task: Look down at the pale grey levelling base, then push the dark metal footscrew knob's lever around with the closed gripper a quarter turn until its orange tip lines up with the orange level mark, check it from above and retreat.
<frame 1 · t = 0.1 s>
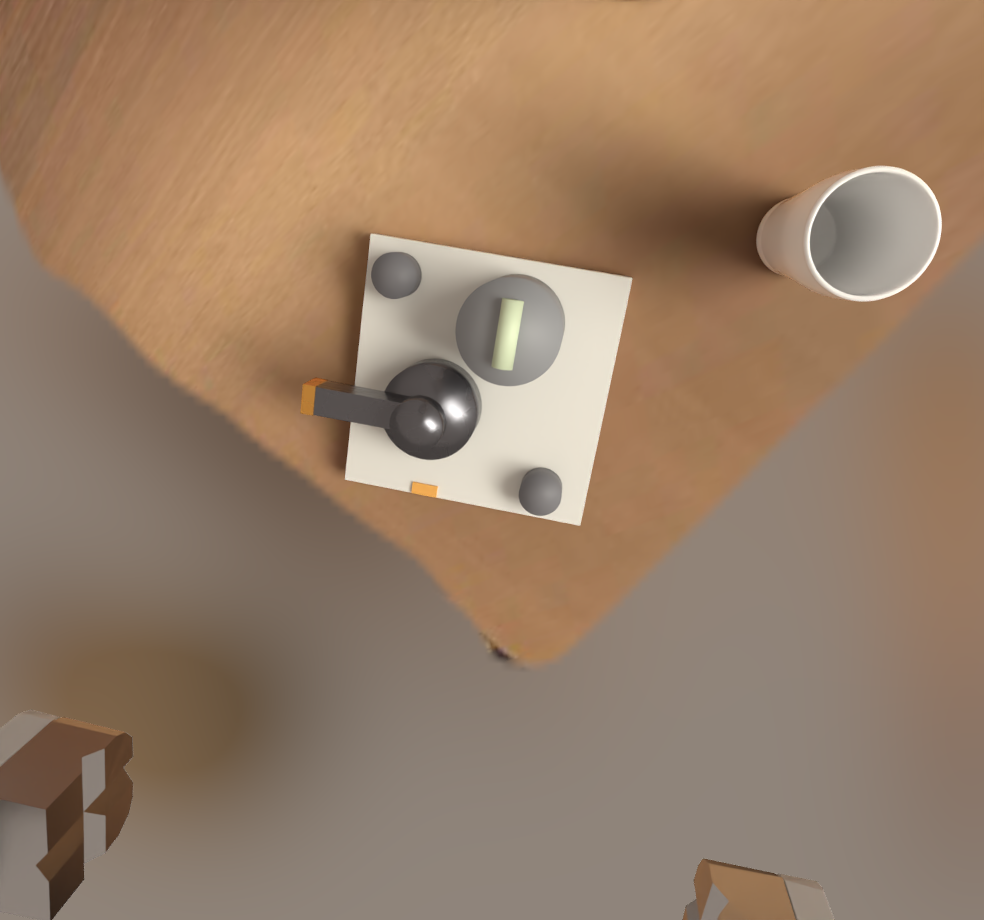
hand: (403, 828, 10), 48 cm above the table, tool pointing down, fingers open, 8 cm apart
drinking glass: (792, 237, 52), on the table
footscrew knob: (392, 408, 53), point 6 cm above the table, hinge at 0.0°
levelling base: (483, 380, 57), on the table
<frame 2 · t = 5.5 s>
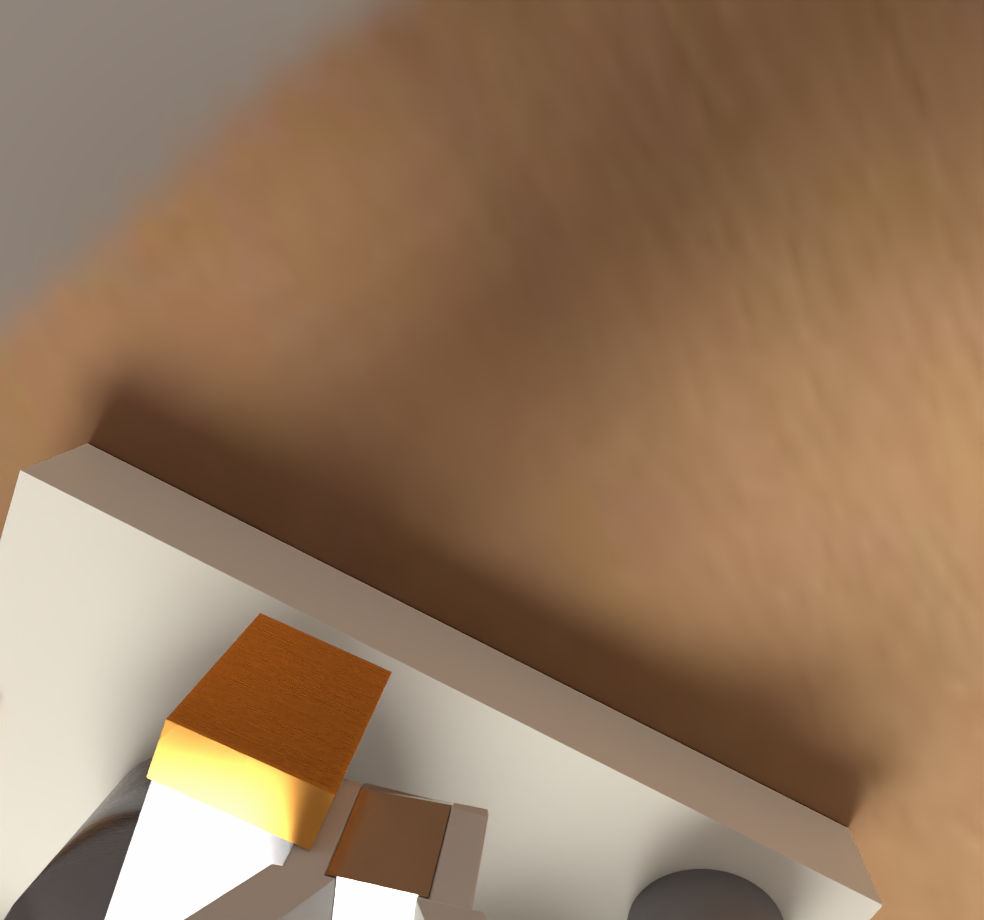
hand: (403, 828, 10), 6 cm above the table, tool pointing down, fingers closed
levelling base: (316, 916, 19), on the table
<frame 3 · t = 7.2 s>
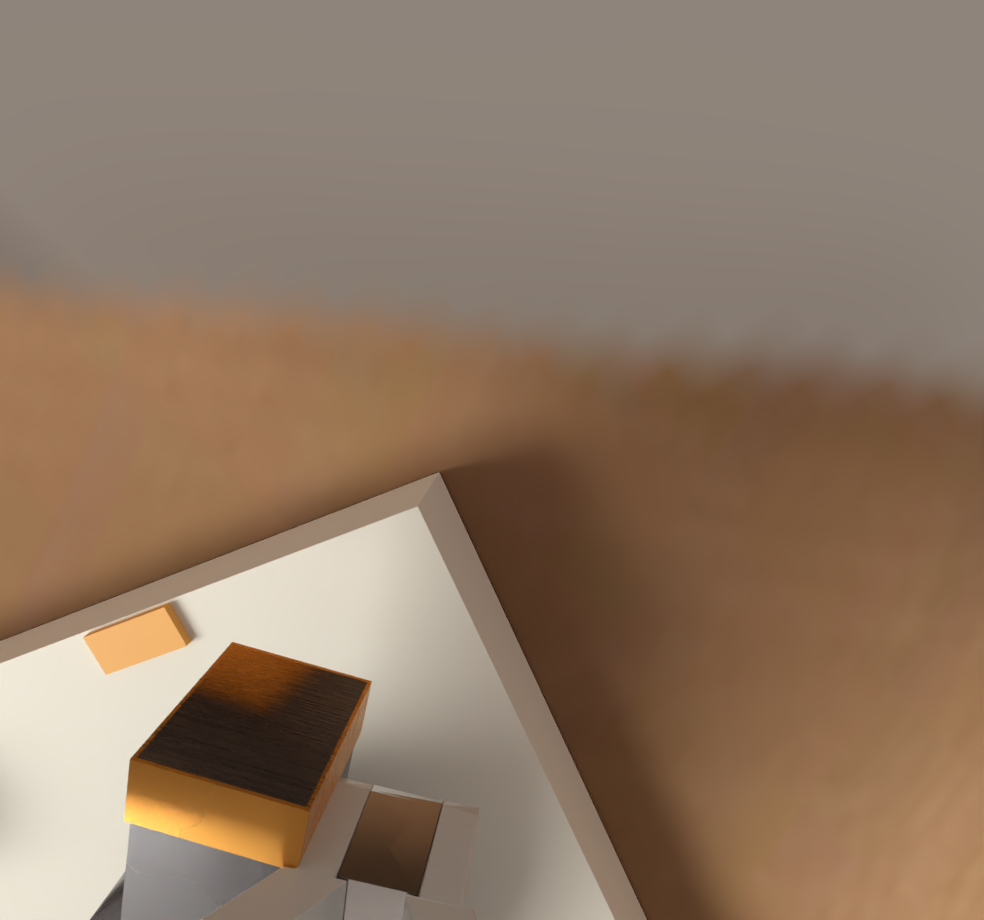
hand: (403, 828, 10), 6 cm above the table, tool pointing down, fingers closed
levelling base: (264, 918, 19), on the table
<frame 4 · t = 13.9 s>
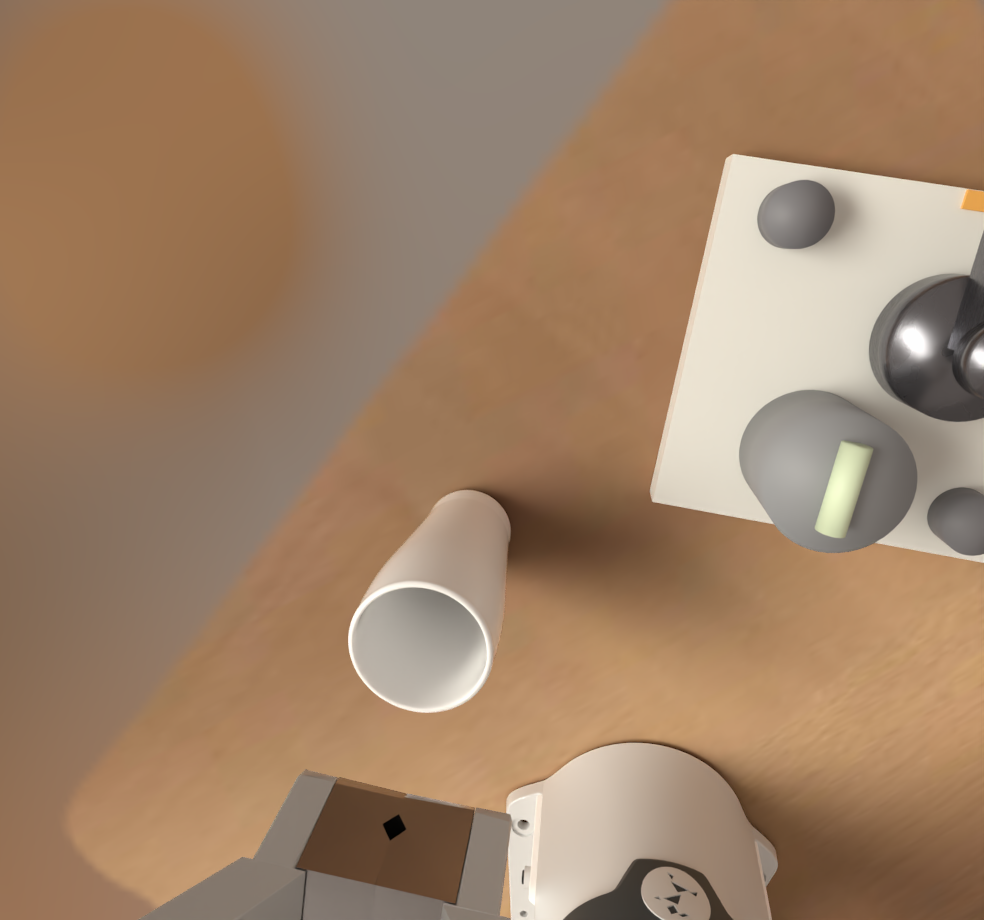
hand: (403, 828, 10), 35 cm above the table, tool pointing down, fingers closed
drinking glass: (470, 525, 47), on the table
levelling base: (854, 364, 41), on the table
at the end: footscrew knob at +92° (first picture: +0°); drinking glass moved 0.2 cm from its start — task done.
